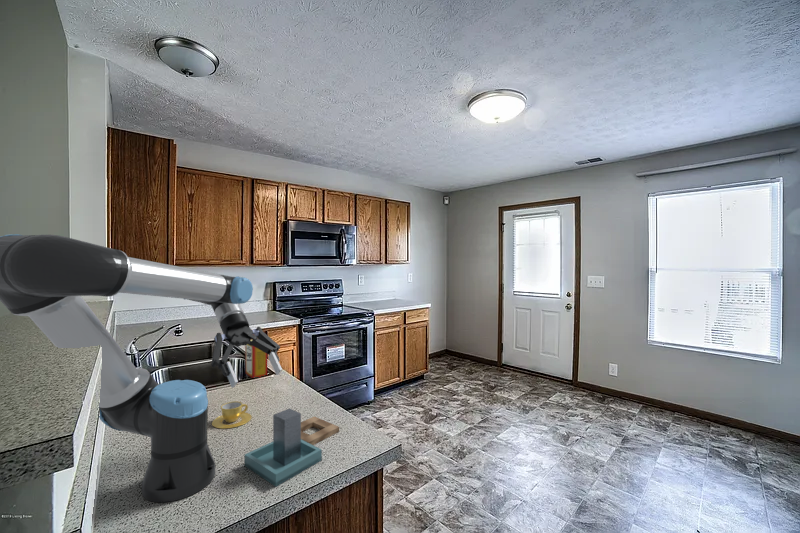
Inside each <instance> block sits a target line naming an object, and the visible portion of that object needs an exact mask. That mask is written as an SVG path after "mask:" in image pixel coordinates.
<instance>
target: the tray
mask: <svg viewBox="0 0 800 533" xmlns="http://www.w3.org/2000/svg"><path fill="white" fill-rule="evenodd" d="M322 453H323V452H322V449H321V448H320V447H318V446H315V445H312V444H309V443H307V442H305V441H303V440H301V458H299V459H297V460H295V461H294V462H292V463H290V464H288V465H286V466H283V465H282V464H280V463H278V462H277V461H275V460H273V441H271V442H268V443H266V444H265V445H262V446H260V447H258V448H256V449H253V450H251V451H249V452H247V453H245V454H244V455H243V456H244V464H243V465H244V467H246V468H247V469H248V470H250V471H251V472H253V473H255V474H256V475H258V476H259V477H260V478H262V479H263V480H265V481H267V482H268V483H269V484H271V485H273V486H274V487H276V488H277V487H278V486H280V485H282V484H285V482H287V481H289V480H290V479H292V478H295V477H296V476H298V475H299V474H301V473H302V472H304V471H306V470H308V469H309V468H312V467H313V466H314V465H316V464H318V463H321V461H323V460H322V459H323V458H322V457H323V456H322Z"/></svg>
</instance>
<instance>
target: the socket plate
mask: <svg viewBox="0 0 800 533" xmlns="http://www.w3.org/2000/svg"><path fill="white" fill-rule="evenodd" d="M312 428H314V429H317V430H318V431H316V432H314V433H312V434H308V433H306V432H305V431H307V430H309V429H312ZM337 433H340V426H338V425H336V424H333V423H331V422H329V421H326V420H323V419H322V418H319V417H316V416H312V417H310V418H307V419H305V420H303V421H301V440H303V441H305V442H307V443H309V444H312V445H314V446H315V445H317V444H318V443H321V442H323V441H324V440H326V439H328V438H330V437H332V436H333V435H335V434H337Z"/></svg>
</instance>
